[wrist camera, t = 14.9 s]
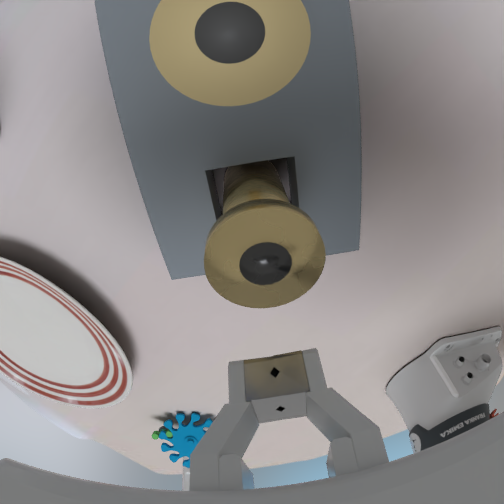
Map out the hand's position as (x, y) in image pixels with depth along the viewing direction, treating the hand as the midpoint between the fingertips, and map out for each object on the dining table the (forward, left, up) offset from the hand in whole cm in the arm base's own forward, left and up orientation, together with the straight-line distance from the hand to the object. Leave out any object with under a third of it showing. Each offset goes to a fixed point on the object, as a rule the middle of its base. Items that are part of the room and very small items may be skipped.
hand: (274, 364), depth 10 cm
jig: (0, -5, -15) cm, 16 cm away
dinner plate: (+29, +13, -16) cm, 35 cm away
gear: (+15, +36, -16) cm, 42 cm away
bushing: (0, 0, -15) cm, 15 cm away
